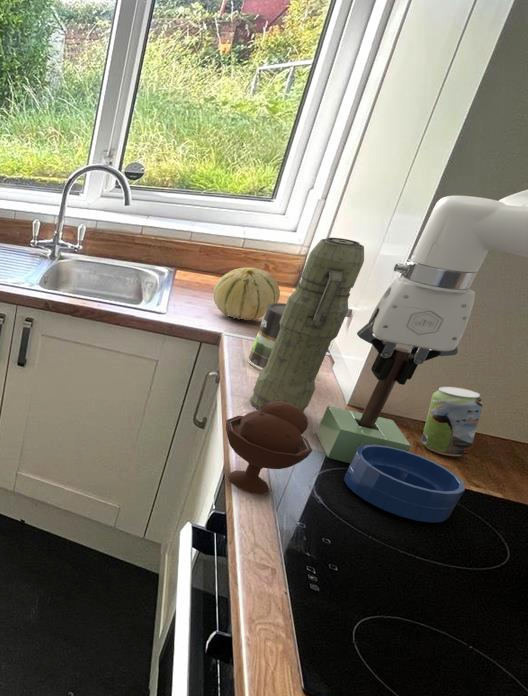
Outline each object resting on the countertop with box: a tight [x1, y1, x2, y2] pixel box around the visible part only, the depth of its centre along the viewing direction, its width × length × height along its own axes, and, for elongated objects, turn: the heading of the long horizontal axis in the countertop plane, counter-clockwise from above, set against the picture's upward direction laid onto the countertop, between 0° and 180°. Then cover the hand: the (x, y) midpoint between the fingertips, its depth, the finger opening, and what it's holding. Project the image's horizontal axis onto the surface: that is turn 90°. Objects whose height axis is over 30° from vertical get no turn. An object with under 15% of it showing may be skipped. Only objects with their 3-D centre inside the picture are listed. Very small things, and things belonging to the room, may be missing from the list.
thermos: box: [249, 237, 365, 414], centre depth 111 cm, size 9×12×35 cm
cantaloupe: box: [212, 267, 281, 321], centre depth 161 cm, size 15×15×15 cm
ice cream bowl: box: [225, 401, 313, 496], centre depth 92 cm, size 11×11×15 cm
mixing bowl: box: [343, 445, 466, 524], centre depth 91 cm, size 12×12×6 cm
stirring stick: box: [358, 347, 410, 429], centre depth 99 cm, size 2×2×16 cm
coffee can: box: [247, 302, 287, 371], centre depth 133 cm, size 10×10×14 cm
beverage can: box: [420, 386, 484, 457], centre depth 104 cm, size 6×7×12 cm
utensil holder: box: [315, 405, 412, 464], centre depth 103 cm, size 9×9×6 cm
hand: (388, 378), depth 98 cm, fingers closed on stirring stick, 2 cm apart
